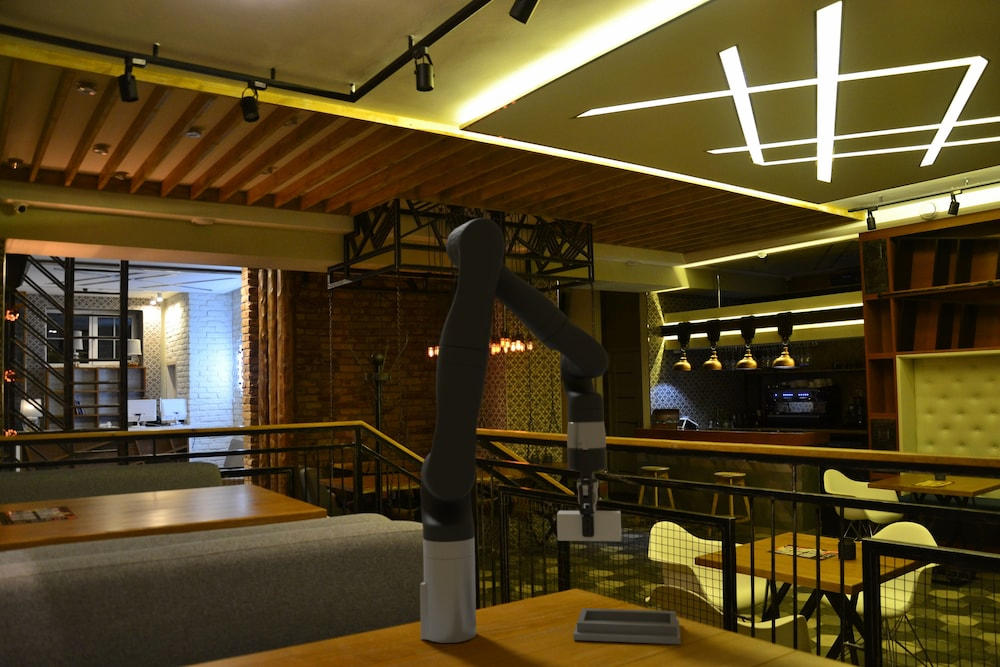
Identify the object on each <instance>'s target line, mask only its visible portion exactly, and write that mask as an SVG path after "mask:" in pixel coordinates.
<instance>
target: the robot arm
mask: <svg viewBox="0 0 1000 667" xmlns="http://www.w3.org/2000/svg"><path fill="white" fill-rule="evenodd" d="M445 246H446V247H445V250H446V255H447V256H448V260H449V261H450V262H451V264H453V266H454V267H455V268H457V269H458V276H457V277H458V278H457V286H456V292H455V295H454V299H453V302H452V305H451V307H450V310H449V312H448V314H447V317H446V319H445V322H444V325H443V328H442V331H441V335H440V339H439V343H438V344H439V345H438V351H437V360H436V372H435V395H436V396H435V397H436V398H435V399H436V400H435V402H436V423H435V430H434V435H433V440H432V444H431V450H430V452H429V453H428V454H427V456H426V457H425V458H424V460H423V462H422V464H421V471H420V495H421V496H420V497H421V500H420V501H421V522H422V543H423V544H422V549H423V552H422V553H423V556H422V557H423V581H422V582H421V583H420V585H419V586H420V587H419V594H420V595H419V598H420V599H419V600H420V605H419V608H420V611H419V613H420V640H427V641H430V642H434V643H440V644H453V643H462V642H466V641H468V640H472V639H473V638H475V637H476V636H477V612H476V610H477V607H476V606H477V605H476V604H477V603H476V602H477V601H476V553H475V552H476V551H475V550H476V549H475V522H474V516H473V509H472V508H473V507H472V488H473V487H474V484H475V481H476V474H477V468H476V467H477V462H476V460H477V459H476V457H477V455H476V454H477V452H476V451H477V429H478V422H479V414H480V411H481V406H482V401H483V395H484V388H485V383H486V377H487V371H488V366H489V365H488V364H489V354H490V345H491V344H490V343H491V334H492V333H491V332H492V325H493V315H494V304H495V299H497V300H498V301H499V302H500V303H501V304H502V305H503V306H505V307H506V309H507V310H509V311H510V312H511V313H512V314H514V316H515V317H516V318H517V319H518V320H519V321H520V322H521V323H522V324H523V325H524V326H525V327H526V328H527V329H528V331H530V332H531V334H533V336H535V338H536V339H538V341H540V343H541V344H543V346H544V347H546V348H547V349H549V350H553V351H556V352H558V353H560V354H561V358H560V362H559V365H560V376H561V379H562V380H561V381H562V385H563V388H564V393H565V396H566V399H567V432H566V439H567V440H566V441H567V444H566V445H567V448H566V449H567V468H568V470H570V471H572V472H573V471H575V472H579V473H580V478H578V479H577V480H576V488H577V491H578V494H577V495H578V496H577V501H578V505H579V510H578V511H579V513H580V515H581V517H582V535H583V536H584V537H593V536H594V515H595V512H594V511H598V509H597V506H598V503H597V502H598V498H599V495H598V494H599V491H598V490H599V479H598V478H596V477H595V472H600V471H604V470H606V469H607V466H608V464H607V461H608V460H607V440H606V439H607V437H606V436H607V435H606V434H607V433H606V428H605V427H606V426H605V418H604V417H605V416H604V415H605V414H604V413H605V412H604V411H605V410H604V409H605V408H604V398H603V396H602V394H601V393H600V392H597V391H596V390H595V388H594V383H593V379H597V378H599V377H602V376H603V375H605V373H606V371H607V370H608V368H609V365H610V364H609V363H610V360H609V356H608V353H607V350H605V348H604V346H603V345H602V344H601V343H600V342H599V341H598V340H597V339H595V338H594V336H592V335H590V334H589V333H587V332H586V331H585V330H584V329H582V328H581V327H580V326H578V325H576V324H575V323H573V322H572V321H571V320H570V318H568V316H566V314H565V313H564V312H563V311H562V310H561V309H560V308H559V307H558V306H557V305H556V304H555V302H553V301H552V300H551V299H550V298H549V297H548V296H546V295H545V294H544V293H543V292H541V291H540V290H538V289H537V288H536V287H534V286H533V285H531V284H530V283H529V282H526V281H525V280H523V279H522V278H521V277H520V276H518V275H517V274H516V273H515V272H514V271H512V270H511V269H510V268H509V267H508V266H507V265H506V264H505V263H504V262H503V260H504V259H503V258H504V255H505V249H506V248H505V246H506V245H505V236H504V234H503V230H502V229H501V228H500V226H499V225H498V224H497V223H496V222H495V221H494V220H492V219H490V218H487V217H479V218H474V219H471V220H469V221H467V222H465V223H464V224H461V225H460V226H457V227H456V228H455V229H453V231H452V232H450V234H449V235H448V237H447V240H446V244H445Z"/></svg>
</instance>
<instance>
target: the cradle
mask: <svg viewBox="0 0 1000 667" xmlns="http://www.w3.org/2000/svg"><path fill="white" fill-rule="evenodd" d="M676 612H677V611H675V610H674V611H673V610H647V609H646V610H645V609H644V610H643V609H621V608H620V609H619V608H618V609H617V608H614V609H613V608H588V607H587V608H586V607H585V608H584V607H582V608H581V610H580V612H579V616H578V619H577V621H576V625H575V628H574V631H573V641H592V642H593V641H594V642H595V641H596V642H618V643H619V642H622V643H640V644H642V643H645V644H663V645H665V644H666V645H681V644H682V643H681V630H680V621H679V617H677V615H676V614H677V613H676Z"/></svg>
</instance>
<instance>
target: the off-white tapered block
mask: <svg viewBox="0 0 1000 667" xmlns="http://www.w3.org/2000/svg"><path fill="white" fill-rule="evenodd" d="M594 512H595V515H594V536H593V537H584V536H583V535H582V517H581V515H580V513H579V510H558V511H557V513H556V530H557V531H556V532H557V533H556V534H557V535H556V536H557V541H562V542H563V541H567V542H571V541H572V542H574V541H575V542H578V541H579V542H621V541H622V517H621V516H622V513H621V510H596V511H594Z"/></svg>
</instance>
